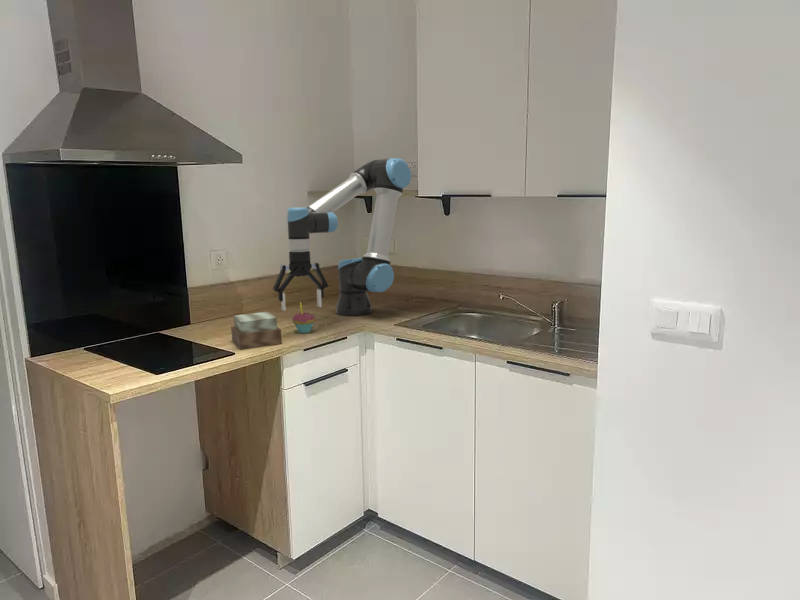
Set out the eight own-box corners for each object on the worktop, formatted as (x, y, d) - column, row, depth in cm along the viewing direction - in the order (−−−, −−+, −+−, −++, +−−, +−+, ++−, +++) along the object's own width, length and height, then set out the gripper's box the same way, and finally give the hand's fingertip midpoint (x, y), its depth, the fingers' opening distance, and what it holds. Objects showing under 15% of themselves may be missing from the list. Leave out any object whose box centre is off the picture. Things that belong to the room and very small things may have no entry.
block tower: (271, 335, 209) (269, 310, 208) (281, 343, 197) (280, 317, 195) (232, 340, 203) (230, 315, 202) (240, 349, 191) (238, 323, 189)
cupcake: (310, 334, 209) (309, 302, 207) (288, 334, 211) (286, 301, 208) (318, 329, 217) (317, 297, 215) (297, 328, 219) (295, 297, 217)
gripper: (328, 248, 217) (330, 303, 221) (262, 251, 206) (265, 309, 210) (335, 249, 210) (337, 306, 214) (267, 253, 199) (270, 313, 203)
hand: (301, 308), depth 212 cm, fingers open, 13 cm apart
